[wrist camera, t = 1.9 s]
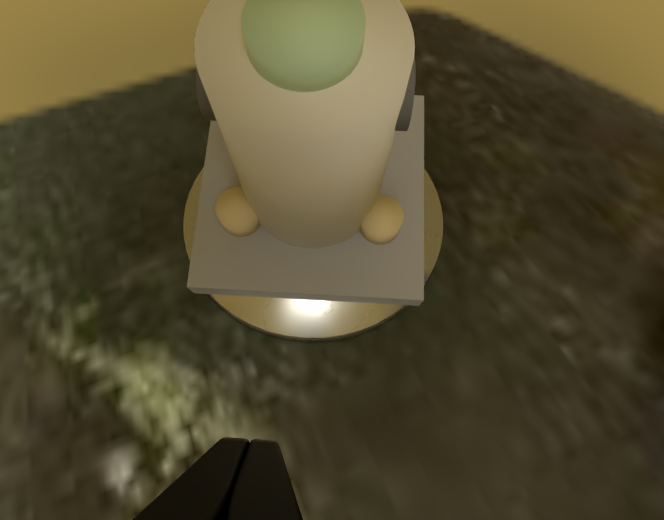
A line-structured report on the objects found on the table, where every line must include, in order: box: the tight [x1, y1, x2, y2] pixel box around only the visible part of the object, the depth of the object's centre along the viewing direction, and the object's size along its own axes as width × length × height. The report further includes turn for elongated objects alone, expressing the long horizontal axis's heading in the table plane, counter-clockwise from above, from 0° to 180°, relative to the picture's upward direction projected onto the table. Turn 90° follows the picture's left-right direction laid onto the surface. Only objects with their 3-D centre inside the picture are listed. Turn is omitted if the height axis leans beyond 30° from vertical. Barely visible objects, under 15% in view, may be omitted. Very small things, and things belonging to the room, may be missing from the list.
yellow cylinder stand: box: [187, 0, 424, 306], centre depth 18 cm, size 10×10×11 cm
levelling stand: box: [183, 167, 443, 343], centre depth 24 cm, size 13×13×2 cm
